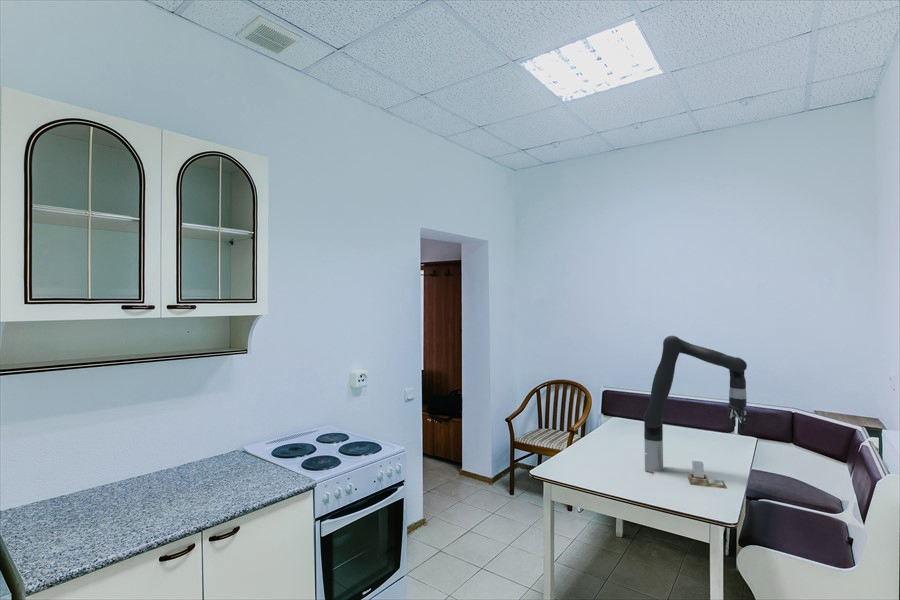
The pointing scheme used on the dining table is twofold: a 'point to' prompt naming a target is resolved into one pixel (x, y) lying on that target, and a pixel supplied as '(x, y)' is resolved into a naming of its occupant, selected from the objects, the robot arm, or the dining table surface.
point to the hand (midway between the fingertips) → (737, 428)
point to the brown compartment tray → (706, 482)
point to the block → (698, 469)
